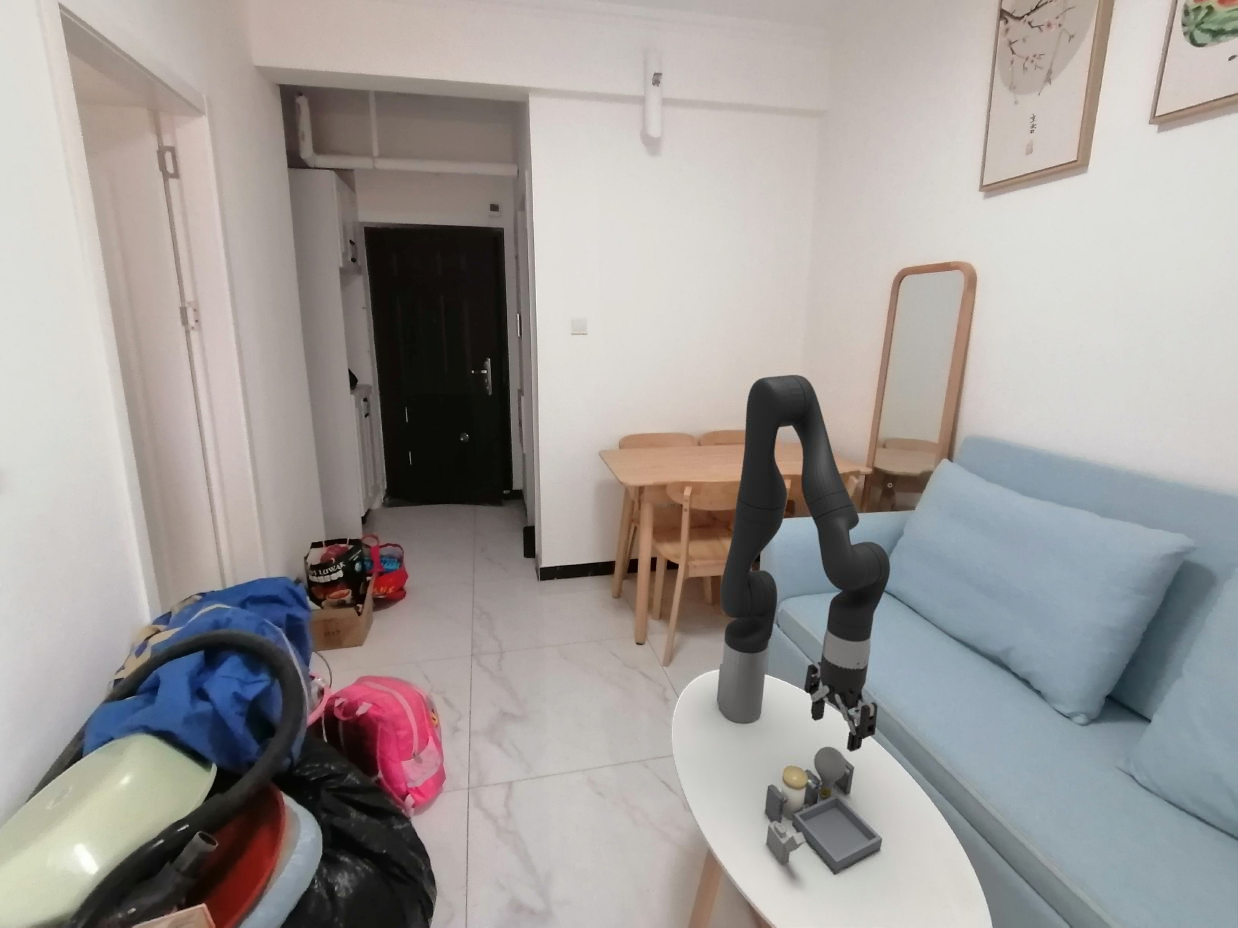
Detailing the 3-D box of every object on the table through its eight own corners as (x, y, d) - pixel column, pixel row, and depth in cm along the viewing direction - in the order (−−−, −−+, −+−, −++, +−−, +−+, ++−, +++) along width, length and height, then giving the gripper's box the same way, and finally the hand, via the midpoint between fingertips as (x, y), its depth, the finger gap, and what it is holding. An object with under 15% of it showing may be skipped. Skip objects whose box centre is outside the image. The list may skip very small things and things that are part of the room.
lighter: (765, 843, 102) (769, 805, 99) (773, 840, 102) (778, 802, 100) (792, 880, 95) (797, 841, 93) (801, 876, 96) (806, 837, 94)
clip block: (764, 812, 108) (767, 785, 106) (837, 780, 115) (841, 755, 113) (776, 826, 105) (779, 799, 103) (850, 793, 112) (854, 766, 111)
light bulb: (842, 809, 109) (850, 764, 106) (811, 804, 110) (817, 759, 107) (838, 786, 114) (845, 742, 111) (808, 781, 115) (814, 737, 112)
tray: (792, 825, 105) (793, 813, 105) (835, 805, 110) (837, 794, 109) (834, 873, 97) (836, 861, 96) (880, 849, 101) (882, 838, 100)
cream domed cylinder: (773, 805, 109) (777, 769, 107) (791, 798, 111) (796, 762, 109) (789, 823, 106) (794, 787, 103) (808, 815, 107) (812, 778, 105)
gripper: (799, 637, 108) (790, 714, 112) (861, 682, 96) (849, 767, 100) (831, 628, 111) (821, 704, 115) (895, 671, 99) (881, 753, 103)
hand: (834, 733), depth 108 cm, fingers open, 8 cm apart
